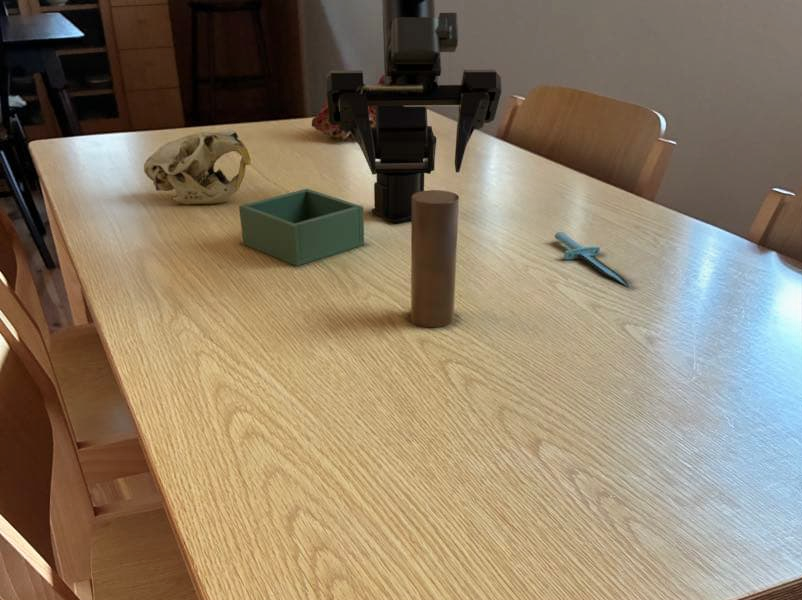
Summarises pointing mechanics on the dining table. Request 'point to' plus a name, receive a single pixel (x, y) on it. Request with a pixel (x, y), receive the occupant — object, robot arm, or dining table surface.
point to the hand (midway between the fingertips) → (416, 171)
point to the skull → (197, 167)
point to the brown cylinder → (433, 257)
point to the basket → (302, 226)
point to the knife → (588, 257)
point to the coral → (335, 129)
